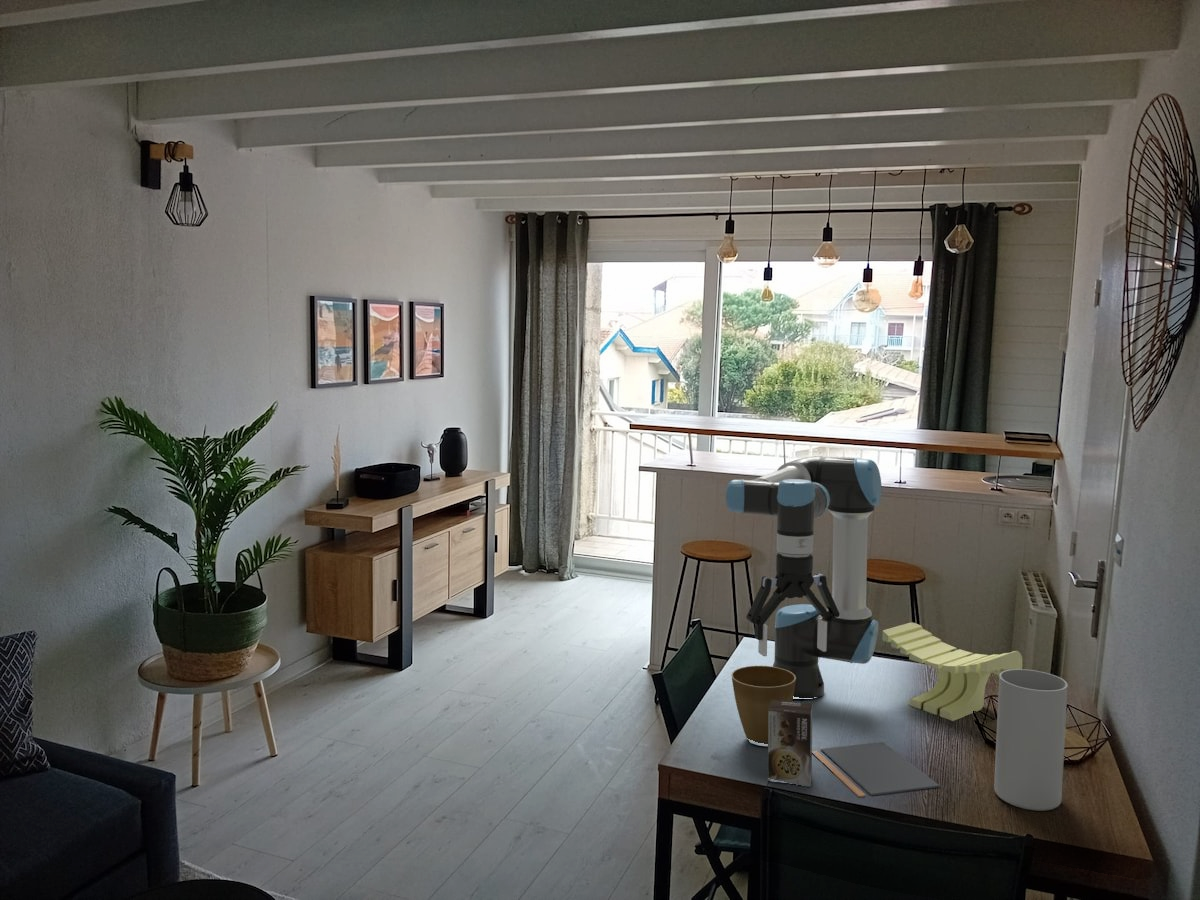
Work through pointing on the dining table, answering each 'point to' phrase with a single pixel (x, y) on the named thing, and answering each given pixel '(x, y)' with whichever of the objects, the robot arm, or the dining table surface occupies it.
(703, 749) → the dining table surface
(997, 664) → the slatted curved stool
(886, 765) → the mat
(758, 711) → the plant pot
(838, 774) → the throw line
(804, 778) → the coffee box
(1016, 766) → the cylinder vase
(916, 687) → the dining table surface
